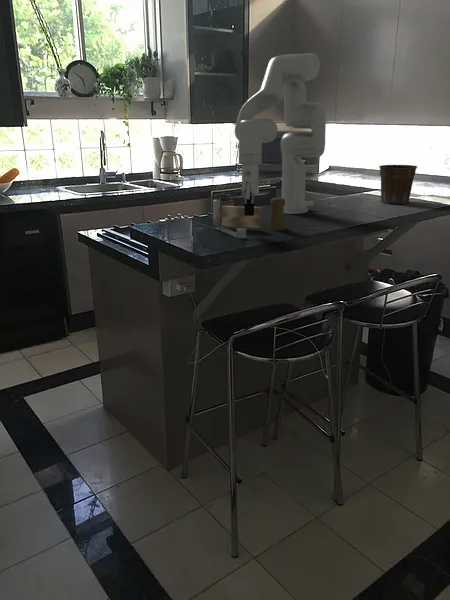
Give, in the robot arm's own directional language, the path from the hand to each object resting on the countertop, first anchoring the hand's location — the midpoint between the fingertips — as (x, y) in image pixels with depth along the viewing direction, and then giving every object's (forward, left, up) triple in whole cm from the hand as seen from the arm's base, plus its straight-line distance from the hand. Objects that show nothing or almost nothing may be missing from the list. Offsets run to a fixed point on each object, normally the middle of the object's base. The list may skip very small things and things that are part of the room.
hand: (249, 215), depth 174 cm
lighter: (-4, -26, -7) cm, 27 cm away
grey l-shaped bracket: (+5, -5, -6) cm, 10 cm away
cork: (-13, -2, -7) cm, 14 cm away
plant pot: (-90, -21, -7) cm, 92 cm away
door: (-1, -8, -5) cm, 10 cm away
